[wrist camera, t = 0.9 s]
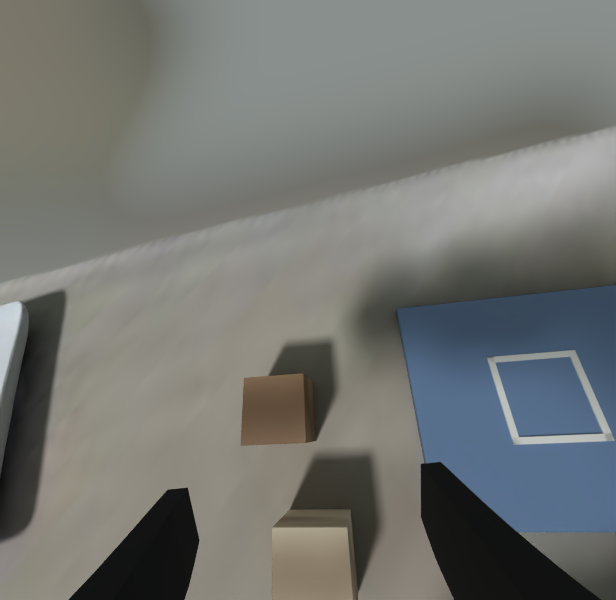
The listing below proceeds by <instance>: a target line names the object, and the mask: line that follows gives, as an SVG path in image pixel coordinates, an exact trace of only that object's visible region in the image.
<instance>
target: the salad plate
mask: <svg viewBox="0 0 616 600" xmlns="http://www.w3.org/2000/svg"><path fill="white" fill-rule="evenodd" d="M28 329H29V315H28V311H27V308H26V306H25V304H24V303H23V302H21V301H14V302H10V303H6V304H3V305H0V476H1V470H2V464H3V457H4V452H5V447H6V442H7V437H8V431H9V426H10V421H11V415H12V409H13V404H14V398H15V393H16V388H17V384H18V379H19V374H20V369H21V364H22V360H23V355H24V350H25V346H26V341H27V336H28Z"/></svg>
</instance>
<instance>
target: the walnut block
mask: <svg viewBox="0 0 616 600" xmlns="http://www.w3.org/2000/svg"><path fill="white" fill-rule="evenodd" d="M312 441H316V426H315V406H314V386H313V382H312V381H311V380H310V379H309V378H308V377H307V376H306V375H305V374H304V373H300V374H288V375H275V376H263V377H250V378H244V389H243V410H242V431H241V446H243V445H266V444H289V443H307V442H312Z"/></svg>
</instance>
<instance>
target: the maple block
mask: <svg viewBox="0 0 616 600" xmlns="http://www.w3.org/2000/svg"><path fill="white" fill-rule="evenodd" d="M272 600H358V585H357V574H356V562H355V551H354V540H353V528H352V517H351V509H309V510H289V511H288V512H287V513H286V514H285V515H284V516H283V517H282V518H281V519H280V520H279V521H278V522H277V523H276V524H275V525H274V526H273V527H272Z"/></svg>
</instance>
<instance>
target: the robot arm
mask: <svg viewBox="0 0 616 600" xmlns="http://www.w3.org/2000/svg"><path fill="white" fill-rule="evenodd" d="M421 518H422V521H423V524H424V527H425V530H426V533H427V536H428V539H429V541H430V544H431V547H432V550H433V552H434V555H435V558H436V560H437V563H438V565H439V567H440V569H441V572H442V574H443V576H444V578H445V580H446V583H447V585H448V587H449V589H450V591H451V594H452V596H453V598H454V600H601V599H599V598H598V597H597V596H595V595H594V594H593V593H591V592H590V591H589V590H587V589H586V588H585V587H583V586H582V585H581V584H580V583H578V582H577V581H576V580H575V579H573V578H572V577H571V576H569V575H568V574H567V573H566V572H564V571H563V570H562V569H561V568H559V567H558V566H557V565H556V564H555V563H553V562H552V561H551V560H550V559H549V558H547V557H546V556H545V555H544V554H542V553H541V552H540V551H539V550H538V549H536V548H535V547H534V546H533V545H532V544H531V543H529V542H528V541H527V540H526V539H525V538H524V537H522V536H521V535H520V534H519V533H518V532H517V531H515V530H514V529H513V528H512V527H511V526H510V525H509V524H508V523H506V522H505V521H504V520H503V519H502V518H501V517H500V516H498V515H497V514H496V513H495V512H494V511H493V510H492V509H491V508H490V507H488V506H487V505H486V504H485V503H484V502H483V501H482V500H481V499H480V498H479V497H478V496H477V495H475V494H474V493H473V492H472V491H471V490H470V489H469V488H468V487H467V486H466V485H465V484H464V483H463V482H462V481H461V480H460V479H458V478H457V477H456V476H455V475H454V474H453V473H452V472H451V471H450V470H449V469H448V468H447V467H446V466H445V465H444V464H442V463H441V462H434V463H424V464H421ZM198 545H199V536H198V532H197V527H196V523H195V519H194V514H193V510H192V505H191V501H190V496H189V492H188V488H180V489H171V490H167V491H166V492H165V493H164V495H163V496H162V497H161V498H160V499H159V500H158V501H157V502H156V504H155V505H154V506H153V507H152V508H151V509H150V510H149V512H148V513H147V514H146V515H145V516H144V517H143V518H142V520H141V521H140V522H139V523H138V524H137V525H136V526H135V528H134V529H133V530H132V531H131V532H130V533H129V534H128V536H127V537H126V538H125V539H124V540H123V541H122V542H121V543H120V545H119V546H118V547H117V548H116V549H115V550H114V551H113V552H112V553H111V555H110V556H109V557H108V558H107V559H106V560H105V561H104V562H103V563H102V565H101V566H100V567H99V568H98V569H97V570H96V571H95V572H94V573H93V574H92V575H91V577H90V578H89V579H88V580H87V581H86V582H85V583H84V584H83V585H82V586H81V587H80V588H79V589H78V590H77V591H76V592H75V593H74V594H73V595H72V597H71V598H70V599H69V600H184V599H185V596H186V593H187V590H188V587H189V583H190V579H191V575H192V571H193V567H194V563H195V558H196V554H197V549H198Z"/></svg>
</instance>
